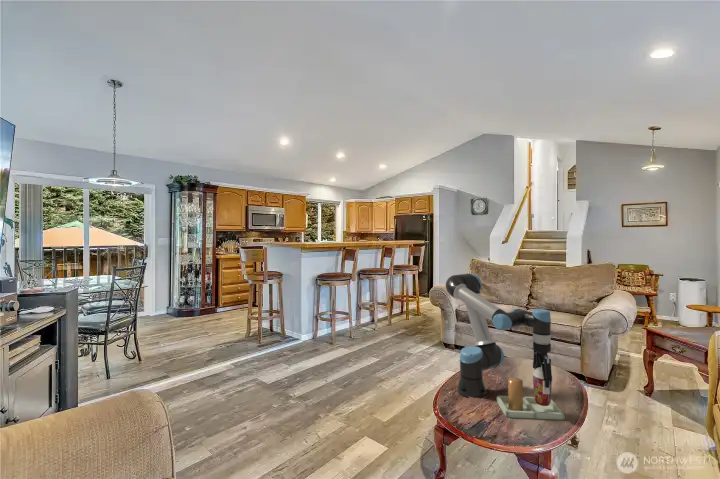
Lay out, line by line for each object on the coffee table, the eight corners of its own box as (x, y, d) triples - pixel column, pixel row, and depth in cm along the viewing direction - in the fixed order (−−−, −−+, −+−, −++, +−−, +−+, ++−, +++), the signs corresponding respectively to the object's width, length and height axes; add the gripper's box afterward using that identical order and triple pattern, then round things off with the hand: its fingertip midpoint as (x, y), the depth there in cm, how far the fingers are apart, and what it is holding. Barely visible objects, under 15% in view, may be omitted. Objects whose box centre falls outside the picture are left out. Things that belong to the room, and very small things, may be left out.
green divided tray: (506, 419, 156) (506, 411, 156) (496, 402, 171) (496, 395, 171) (564, 421, 153) (564, 414, 153) (549, 404, 169) (549, 397, 168)
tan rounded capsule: (510, 412, 160) (510, 383, 160) (506, 405, 167) (506, 377, 166) (524, 412, 159) (524, 383, 159) (520, 405, 166) (519, 377, 166)
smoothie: (556, 405, 159) (556, 363, 159) (544, 409, 156) (543, 366, 156) (540, 397, 167) (540, 357, 167) (528, 401, 164) (528, 360, 163)
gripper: (560, 350, 150) (561, 400, 150) (540, 335, 171) (541, 379, 171) (543, 349, 151) (543, 399, 151) (525, 335, 172) (525, 379, 172)
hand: (542, 389), depth 161 cm, fingers closed on smoothie, 8 cm apart
